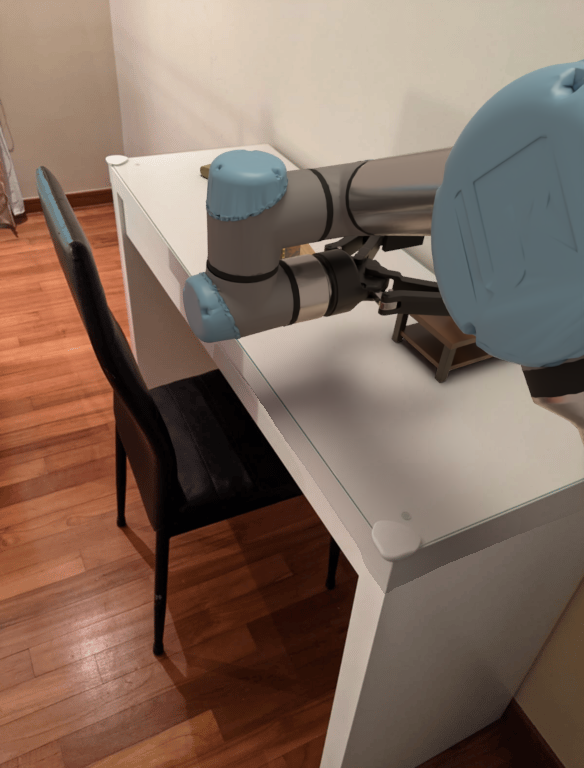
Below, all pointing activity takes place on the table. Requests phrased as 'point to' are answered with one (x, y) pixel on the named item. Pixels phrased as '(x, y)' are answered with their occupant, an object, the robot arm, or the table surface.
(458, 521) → the table surface
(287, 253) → the ruin model on sheet
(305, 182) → the robot arm
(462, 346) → the miniature coffee table
